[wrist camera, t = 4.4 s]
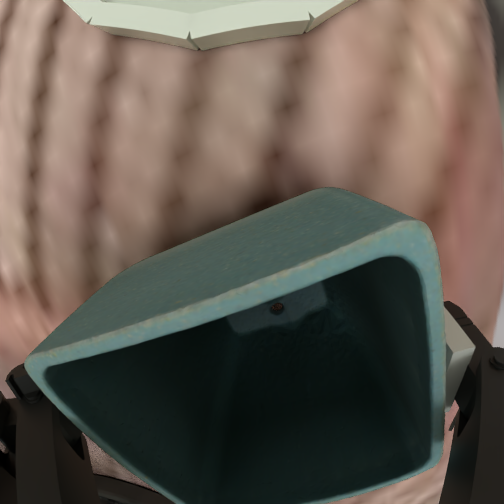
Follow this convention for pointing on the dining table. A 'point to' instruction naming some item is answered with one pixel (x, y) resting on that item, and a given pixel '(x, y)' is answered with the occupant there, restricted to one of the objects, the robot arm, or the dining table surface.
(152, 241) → the dining table surface
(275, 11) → the saucer
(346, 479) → the flower pot
